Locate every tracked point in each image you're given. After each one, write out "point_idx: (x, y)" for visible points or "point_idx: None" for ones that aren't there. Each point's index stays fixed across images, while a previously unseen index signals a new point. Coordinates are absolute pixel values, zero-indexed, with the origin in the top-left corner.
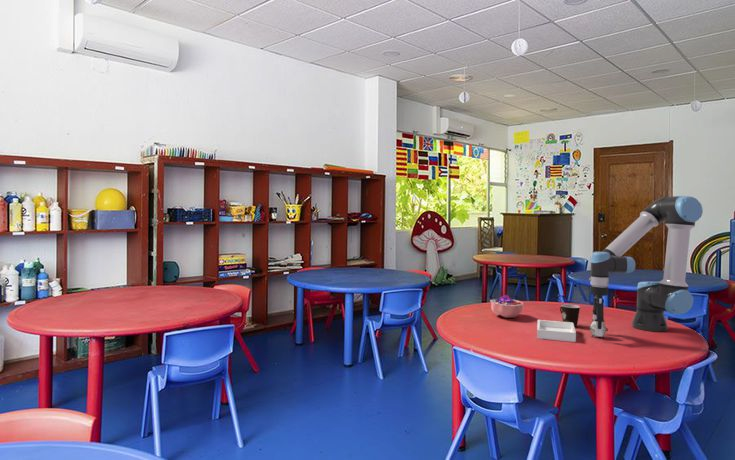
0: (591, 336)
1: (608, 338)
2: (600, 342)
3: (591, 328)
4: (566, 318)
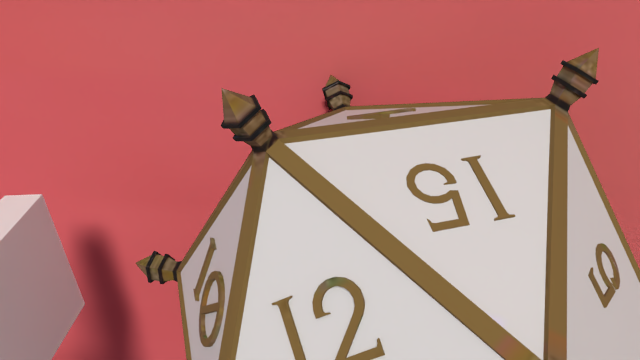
0: (338, 82)
1: None
2: None
3: (234, 178)
4: None
